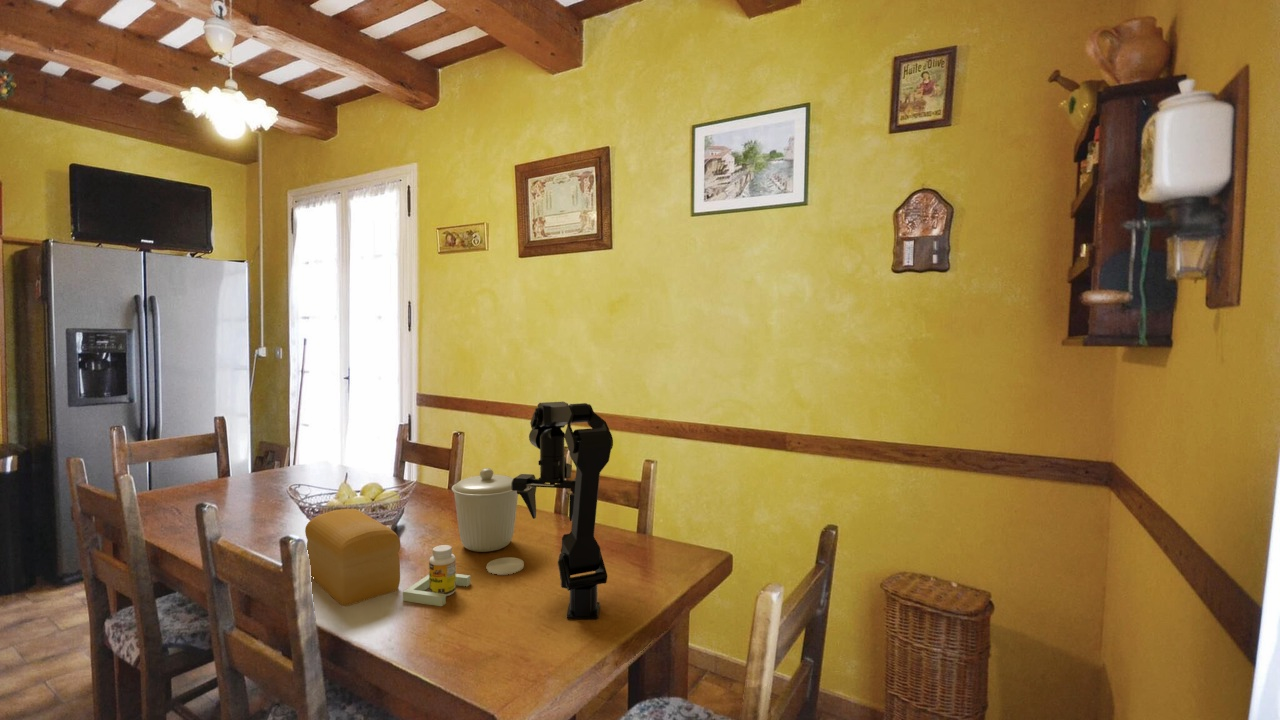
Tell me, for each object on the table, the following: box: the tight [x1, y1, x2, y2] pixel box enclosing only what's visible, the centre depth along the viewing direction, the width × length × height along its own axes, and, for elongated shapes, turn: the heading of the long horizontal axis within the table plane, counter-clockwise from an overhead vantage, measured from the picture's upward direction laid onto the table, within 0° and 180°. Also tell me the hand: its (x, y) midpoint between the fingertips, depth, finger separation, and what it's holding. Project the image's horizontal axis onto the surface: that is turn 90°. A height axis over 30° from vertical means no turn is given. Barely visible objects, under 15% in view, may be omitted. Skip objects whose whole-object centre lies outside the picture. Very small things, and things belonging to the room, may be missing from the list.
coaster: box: [486, 556, 525, 576], centre depth 148 cm, size 9×9×1 cm
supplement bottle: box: [428, 544, 457, 597], centre depth 133 cm, size 6×6×10 cm
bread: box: [304, 508, 401, 607], centre depth 139 cm, size 24×13×15 cm, turn 45°
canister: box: [451, 467, 519, 553], centre depth 162 cm, size 18×18×21 cm
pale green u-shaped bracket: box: [402, 573, 472, 607], centre depth 134 cm, size 10×12×2 cm
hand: (552, 519), depth 143 cm, fingers open, 9 cm apart
